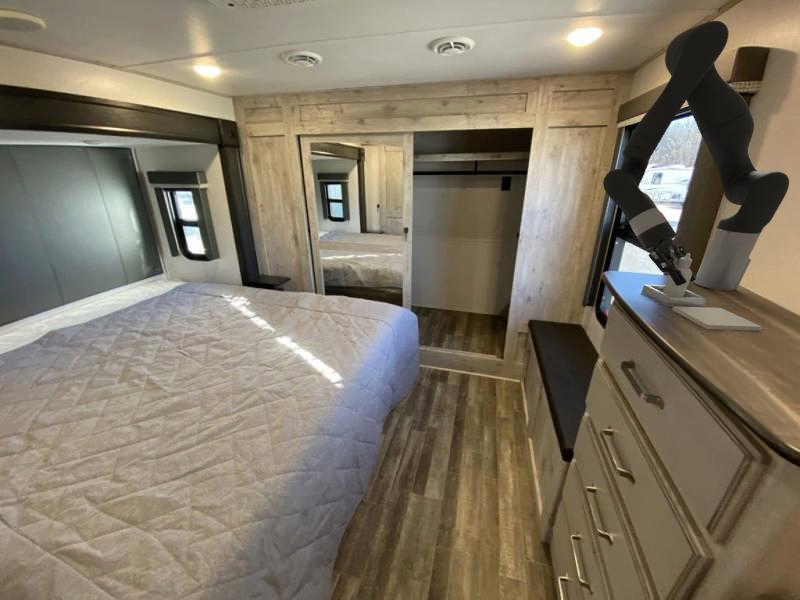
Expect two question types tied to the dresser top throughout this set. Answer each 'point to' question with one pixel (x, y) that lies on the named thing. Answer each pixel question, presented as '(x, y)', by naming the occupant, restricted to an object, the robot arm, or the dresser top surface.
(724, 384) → the dresser top surface
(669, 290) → the eye dropper bottle
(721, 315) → the cream pad
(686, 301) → the grey square tray
